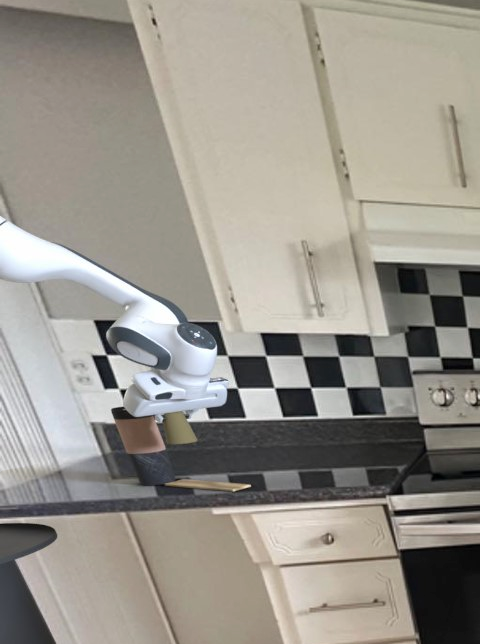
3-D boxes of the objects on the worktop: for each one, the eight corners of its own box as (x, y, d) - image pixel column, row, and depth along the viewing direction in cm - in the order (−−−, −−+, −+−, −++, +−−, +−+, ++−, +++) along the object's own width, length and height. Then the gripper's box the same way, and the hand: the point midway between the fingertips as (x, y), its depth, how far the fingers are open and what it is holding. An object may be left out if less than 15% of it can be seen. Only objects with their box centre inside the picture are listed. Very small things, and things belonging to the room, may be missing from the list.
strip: (233, 491, 170) (232, 489, 170) (165, 485, 173) (164, 483, 173) (251, 486, 174) (250, 484, 174) (184, 481, 178) (183, 479, 178)
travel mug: (184, 478, 180) (158, 405, 173) (160, 485, 173) (132, 410, 166) (156, 478, 180) (128, 405, 172) (131, 485, 173) (100, 409, 165)
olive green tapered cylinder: (171, 445, 164) (155, 401, 160) (163, 442, 167) (146, 398, 163) (201, 441, 169) (186, 398, 164) (193, 438, 172) (178, 396, 167)
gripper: (221, 367, 168) (209, 403, 174) (123, 376, 150) (114, 415, 157) (238, 386, 168) (226, 421, 175) (142, 396, 150) (132, 435, 157)
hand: (172, 418), depth 166 cm, fingers closed on olive green tapered cylinder, 4 cm apart
